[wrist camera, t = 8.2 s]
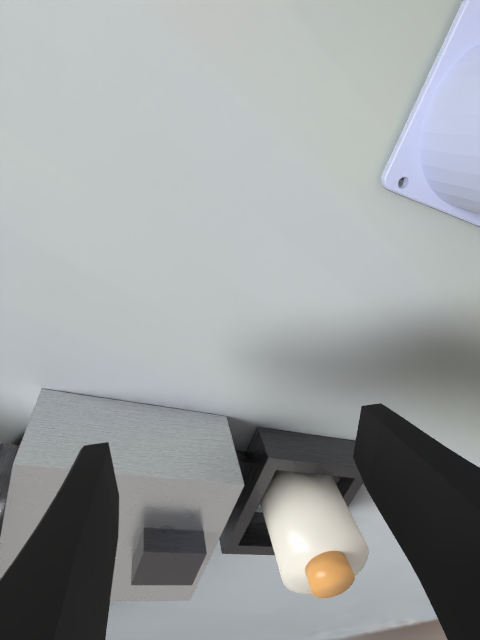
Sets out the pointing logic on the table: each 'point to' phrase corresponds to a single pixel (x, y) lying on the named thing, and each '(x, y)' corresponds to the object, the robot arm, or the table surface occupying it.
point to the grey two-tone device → (159, 485)
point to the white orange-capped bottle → (312, 533)
